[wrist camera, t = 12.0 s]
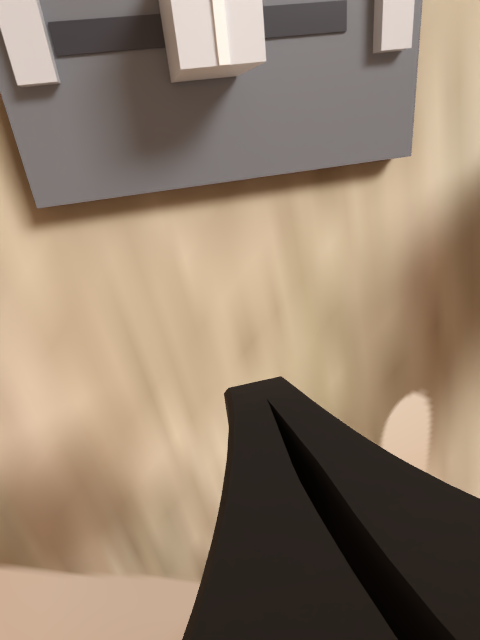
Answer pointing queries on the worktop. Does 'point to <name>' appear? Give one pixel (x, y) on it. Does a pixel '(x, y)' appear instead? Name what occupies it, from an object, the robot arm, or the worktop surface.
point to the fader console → (201, 96)
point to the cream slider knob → (212, 37)
